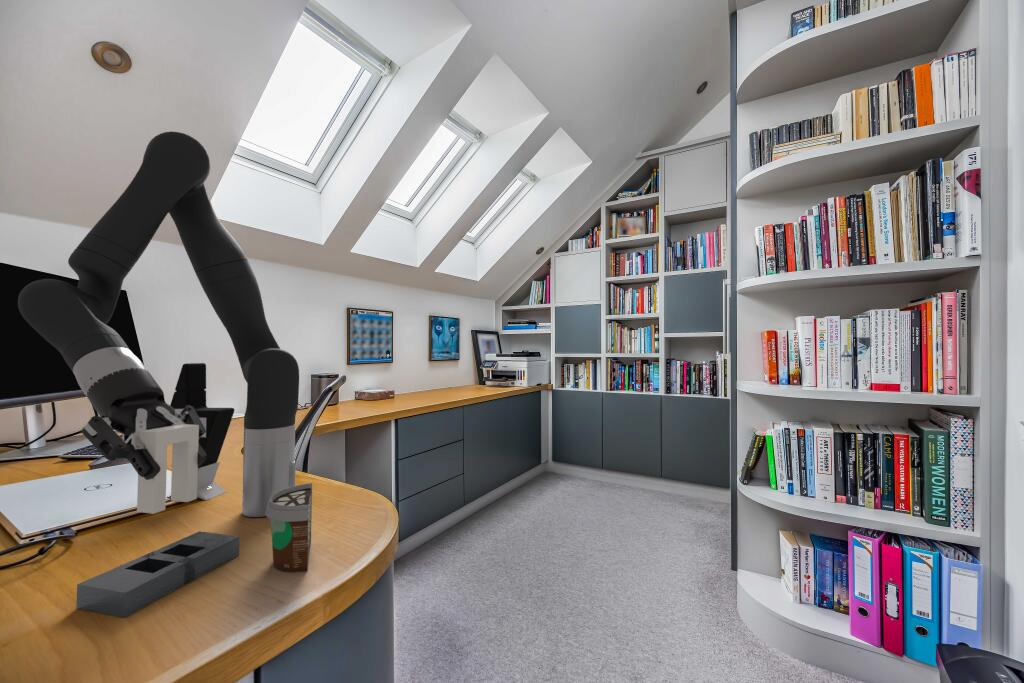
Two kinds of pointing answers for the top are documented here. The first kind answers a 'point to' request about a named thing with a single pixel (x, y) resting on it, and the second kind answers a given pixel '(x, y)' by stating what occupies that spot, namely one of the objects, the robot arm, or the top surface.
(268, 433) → the robot arm
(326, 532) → the top surface
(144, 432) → the grey arch-shaped block
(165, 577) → the grey slotted base block
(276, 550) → the food container
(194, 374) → the award
